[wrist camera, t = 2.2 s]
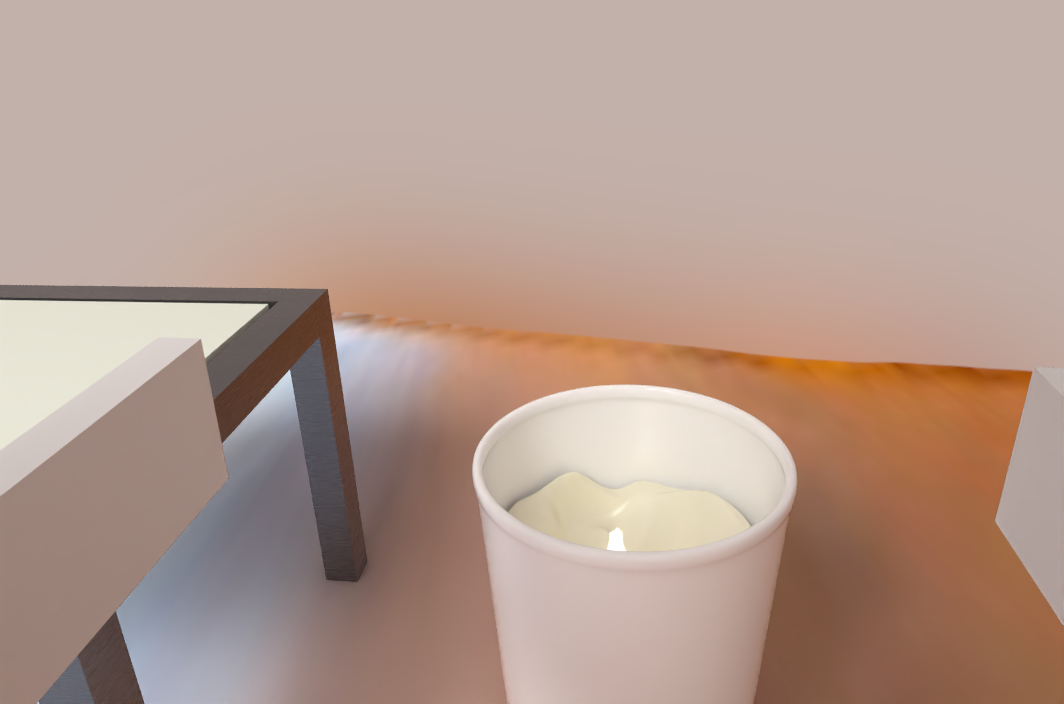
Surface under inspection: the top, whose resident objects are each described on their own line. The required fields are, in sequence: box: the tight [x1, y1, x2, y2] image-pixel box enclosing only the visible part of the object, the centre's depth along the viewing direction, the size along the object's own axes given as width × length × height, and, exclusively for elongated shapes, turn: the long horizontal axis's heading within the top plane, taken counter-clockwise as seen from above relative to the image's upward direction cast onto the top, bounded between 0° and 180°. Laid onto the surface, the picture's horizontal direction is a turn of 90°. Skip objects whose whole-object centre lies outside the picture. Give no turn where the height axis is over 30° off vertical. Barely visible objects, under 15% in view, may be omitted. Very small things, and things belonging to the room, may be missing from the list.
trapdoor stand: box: [0, 285, 367, 704], centre depth 30 cm, size 17×18×14 cm
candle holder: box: [472, 385, 797, 704], centre depth 28 cm, size 10×10×12 cm
